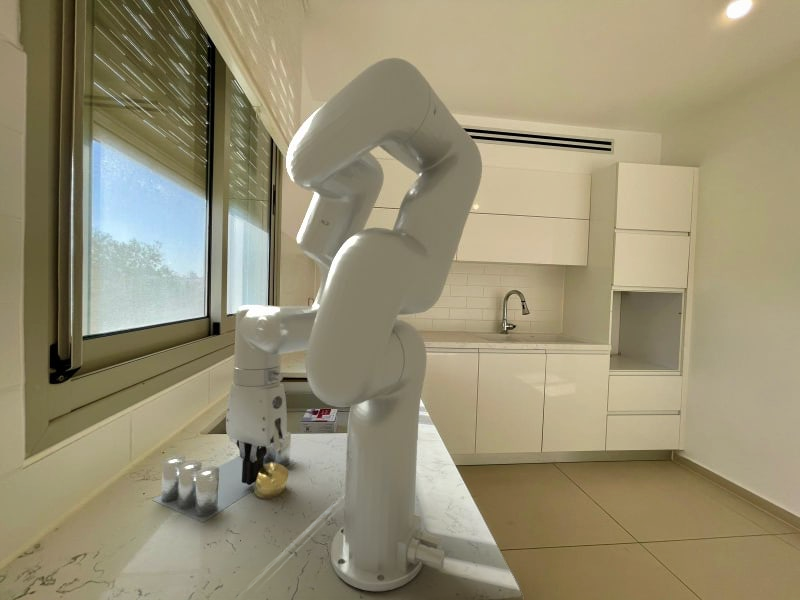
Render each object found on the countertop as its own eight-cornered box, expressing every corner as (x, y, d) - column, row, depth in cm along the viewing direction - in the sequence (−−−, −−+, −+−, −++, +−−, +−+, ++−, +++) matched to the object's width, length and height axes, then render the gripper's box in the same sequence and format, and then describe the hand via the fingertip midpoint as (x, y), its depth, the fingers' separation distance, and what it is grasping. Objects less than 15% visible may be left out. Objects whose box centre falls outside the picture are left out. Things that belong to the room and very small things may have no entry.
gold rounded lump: (289, 488, 58) (294, 473, 58) (269, 505, 53) (274, 489, 53) (268, 473, 60) (273, 458, 59) (246, 488, 55) (251, 473, 55)
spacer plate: (296, 465, 66) (296, 462, 66) (203, 526, 48) (203, 522, 48) (252, 452, 71) (252, 449, 71) (151, 503, 53) (151, 499, 53)
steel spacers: (292, 462, 66) (294, 432, 66) (204, 519, 49) (205, 478, 49) (252, 451, 70) (253, 422, 70) (157, 498, 53) (158, 461, 53)
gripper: (305, 377, 58) (300, 480, 58) (243, 366, 64) (239, 460, 64) (274, 386, 51) (268, 504, 51) (207, 374, 57) (203, 479, 57)
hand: (252, 479), depth 58 cm, fingers closed
